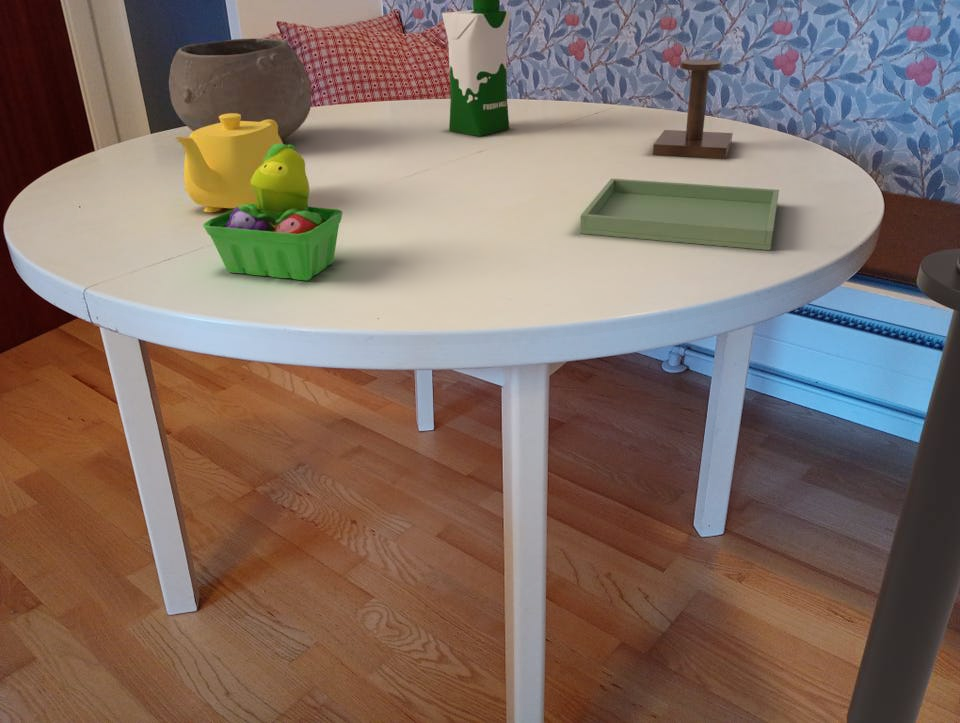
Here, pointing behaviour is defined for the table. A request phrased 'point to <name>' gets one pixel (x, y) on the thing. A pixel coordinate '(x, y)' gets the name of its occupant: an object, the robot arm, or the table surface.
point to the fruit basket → (277, 224)
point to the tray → (683, 213)
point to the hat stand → (695, 120)
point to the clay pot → (240, 83)
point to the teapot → (226, 160)
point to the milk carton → (478, 68)
